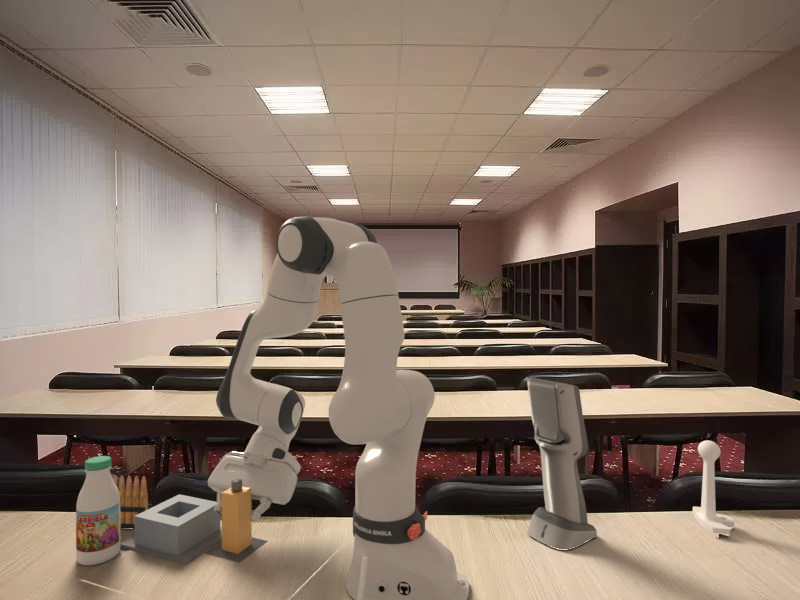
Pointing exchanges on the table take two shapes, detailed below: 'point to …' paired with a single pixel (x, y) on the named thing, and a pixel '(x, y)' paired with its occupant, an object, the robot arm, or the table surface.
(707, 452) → the joystick
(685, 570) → the table surface
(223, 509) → the plug
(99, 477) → the milk bottle
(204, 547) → the housing
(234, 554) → the mat
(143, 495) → the ammunition clip
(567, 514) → the thermal camera
